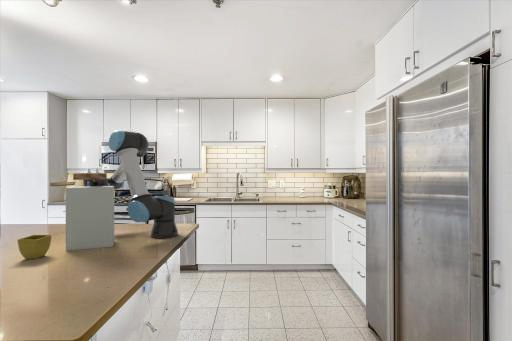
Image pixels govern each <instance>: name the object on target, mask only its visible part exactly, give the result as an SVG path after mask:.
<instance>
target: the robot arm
mask: <svg viewBox="0 0 512 341" xmlns="http://www.w3.org/2000/svg"><path fill="white" fill-rule="evenodd" d="M108 148H109V150H111V151H113V152H115V154H116V156H117V157H118V158H120V164H119V165H118V167H117V168H116V170H115V171H114V172H113V174H112V175H111V176H110V177H109V178H108V177H107V179H97V180H83V187H85V186H114V191H115V190H116V191H117V190H121V189H123V188H124V186H125V179H126V182H127V185H128V189H129V191H130V195H131V198H130V199H129V203H128V205H127V213H128V216H129V218H130V220H132V221H133V222H134V223H135V222H136V223H146V222H148V221H153V225H152V228H151V231H150V237H151V238H154V239H169V238H173V237H176V236H178V235H179V232H178V231H179V230H178V228H177V224H176V222H175V221H176V220H175V219H176V216H175V215H176V214H175V213H176V212H175V211H176V209H175V208H176V203H175V202H176V201H175V198H174V197H173V196H163V195H162V196H161V195H154V196H153V193H150V192H149V191H148V188H147V185H146V182H145V181H146V180H145V178H144V174H143V172H142V168H141V165H140V159H141V158H144V156H145V155H146V153H147V152H148V150H149V140H148V138H147V137H146V136H145V135H144V134H143V133H140V132H134V131H127V130H126V131H125V130H122V129H121V130H114V131H113V132H112V133H111V134H110V136H109V139H108ZM88 173H92V172H91V169H90V168H87V173H86V174H88ZM95 173H100V171H99V169H98V168H96V170H95Z"/></svg>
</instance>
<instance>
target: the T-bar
mask: <svg viewBox="0 0 512 341" xmlns="http://www.w3.org/2000/svg"><path fill="white" fill-rule="evenodd" d="M87 173H88V172H87ZM87 173H73V174H72V176H73V178H72V179H73V181H77V180H78V181H79V180H80V181H84V180H97V179H107V178H108V177H107V176H108V175H107V174H108V173H106V172H105V173H101V172H99V173H96V172H95V173H94V172H93V173H92V172H91V173H88V174H87Z"/></svg>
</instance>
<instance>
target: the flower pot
mask: <svg viewBox="0 0 512 341" xmlns="http://www.w3.org/2000/svg"><path fill="white" fill-rule="evenodd" d="M16 240H17V246H18V250H19V252H20V254H21V256H22V257H23V258H24V259H25V260H26V259H29V260H31V259H33V260H36V259H39V258H41V257H44V256H45V255H46V254H47V253H48V251H49V250H50V247H51V242H52V234H32V235H29V236H25V237H21V238H19V239H16Z"/></svg>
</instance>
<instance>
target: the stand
mask: <svg viewBox="0 0 512 341" xmlns="http://www.w3.org/2000/svg"><path fill="white" fill-rule="evenodd" d="M114 244H115V189H114V186H85V187H84V186H68V187H65V252H68V251H77V250H88V249H89V250H90V249H100V248H111V247H113V246H114Z"/></svg>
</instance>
